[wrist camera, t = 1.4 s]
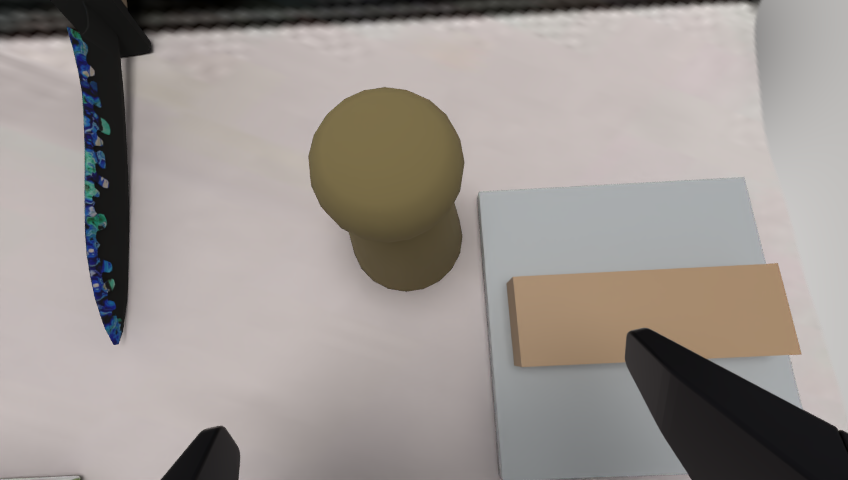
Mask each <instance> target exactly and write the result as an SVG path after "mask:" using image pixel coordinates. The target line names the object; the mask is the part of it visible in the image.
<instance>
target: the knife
mask: <svg viewBox="0 0 848 480" xmlns="http://www.w3.org/2000/svg"><path fill="white" fill-rule="evenodd" d="M51 1H52V3H53V4H54V5H55V6H56V7H57V8H58V9H59V10H60V11H61V12H62V13H63V15H64V16H65V17H66V18H67V19H68V20H69V21H70V22H71V23H72V24H73V25H74V27H75V28H76V29H77V30H78V31H79V32H80V33H78V32H76V31H75V30H73V29H71V28H69V27H67V30H68V33H69V37H70V40H71V44H72V47H73V51H74V55H75V60H76V64H77V68H78V73H79V78H80V84H81V89H82V100H83V115H84V141H85V238H86V251H87V259H88V265H89V271H90V277H91V282H92V287H93V291H94V296H95V300H96V303H97V306H98V309H99V312H100V316H101V319H102V322H103V324H104V327H105V330H106V331H107V333H108V335H109V337H110V339H111V341H112V343H113V345H116V344H119V341H120V338H121V335H122V333H123V327H124V319H125V312H126V304H127V290H128V254H129V196H128V164H127V144H126V125H125V105H124V92H123V81H122V70H121V59H120V57H124V56H130V55H136V54H142V53H148V52H149V51H150V47H151V42H150V40H149V39H148V38H147V36H146V35H145V34H144V32H143V31H142V29H141V28H140V27H139V25H138V24H137V23H136V21H135V20H134V19H133V17H132V16H131V15H130V13H129V12H128V8H127V0H51Z"/></svg>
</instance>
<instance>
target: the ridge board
mask: <svg viewBox="0 0 848 480" xmlns="http://www.w3.org/2000/svg"><path fill="white" fill-rule="evenodd" d="M477 200H478V212H479V225H480V237H481V249H482V262H483V274H484V286H485V299H486V311H487V323H488V335H489V348H490V360H491V372H492V385H493V397H494V409H495V422H496V434H497V446H498V459H499V471H500V477H501V479H502V480H552V479H577V478H603V477H628V476H654V475H679V474H688V473H687V472H686V470H685V469H684V467H683V466H682V464H681V463H680V461H679V460H678V458H677V456H676V455H675V453H674V452H673V450H672V449H671V447H670V446H669V444H668V443H667V441H666V440H665V438H664V436H663V435H662V433H661V431H660V430H659V428H658V426H657V424H656V422H655V420H654V418H653V417H652V415H651V413H650V411H649V409H648V407H647V405H646V403H645V401H644V399H643V397H642V395H641V393H640V391H639V389H638V387H637V385H636V384H635V382H634V380H633V378H632V376H631V374H630V372H629V370H628V368H627V366H626V362H625V346H626V336H627V333H628V332H629V331H631V330H635V329H640V328H649V329H651V330H653V331H655V332H657V333H659V334H661V335H663V336H665V337H666V338H668V339H670V340H672V341H674V342H676V343H678V344H680V345H682V346H684V347H685V348H687V349H689V350H691V351H693V352H695V353H697V354H699V355H701V356H702V357H704V358H706V359H708V360H710V361H712V362H714V363H716V364H718V365H719V366H721V367H723V368H725V369H727V370H729V371H731V372H733V373H735V374H737V375H738V376H740V377H742V378H744V379H746V380H748V381H750V382H752V383H754V384H755V385H757V386H759V387H761V388H763V389H765V390H767V391H769V392H771V393H772V394H774V395H776V396H778V397H780V398H782V399H784V400H786V401H788V402H790V403H791V404H793V405H795V406H797V407H799V408H801V409H802V405H801V401H800V397H799V393H798V389H797V385H796V381H795V377H794V373H793V369H792V365H791V361H790V357H789V355H800V354H801V351H800V347H799V343H798V339H797V335H796V331H795V327H794V324H793V320H792V316H791V312H790V308H789V304H788V300H787V297H786V293H785V289H784V285H783V281H782V277H781V273H780V270H779V266H778V263H775V264H766V262H765V258H764V254H763V250H762V246H761V242H760V238H759V234H758V230H757V226H756V222H755V218H754V214H753V210H752V206H751V202H750V198H749V194H748V190H747V186H746V182H745V178H744V177H738V178H720V179H702V180H684V181H665V182H647V183H629V184H611V185H593V186H574V187H556V188H538V189H520V190H502V191H483V192H479V194H478V198H477Z"/></svg>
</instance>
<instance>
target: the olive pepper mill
mask: <svg viewBox="0 0 848 480" xmlns="http://www.w3.org/2000/svg"><path fill="white" fill-rule="evenodd" d="M309 168H310V179H311V186H312V188H313V190H314V193H315V195H316V197H317V199H318V201H319V203H320V206H321V207H322V208H323V209H324V211H325V212H326V213H327V214H328V215H329V216H330V217H331V218H332V219H333V220H334V221H335V222H336V223H337V224H338V225H339V226H340V227H341V228H342V229H344V230H346V231H348V232H349V235H350V238H351V242H352V246H353V250H354V253H355V256H356V258H357V260H358V262H359V264H360V266H361V268H362V269H363V270H364V271H365V272H366V274H367V275H368V276H369V277H370V278H371V279H372V280H373V281H375V282H377V283H379V284H381V285H383V286H385V287H386V288H388V289H394V290H400V291H413V290H419V289H424V288H426V287H428V286H430V285H432V284H434V283H436V282H438V281H440V280H441V279H442V278H443V277H444V276H445V275H446V274H447V273H448V272H449V271H450V270H451V269H452V268H453V266H454V264H455V262H456V260H457V258H458V256H459V254H460V249H461V242H462V232H461V226H460V221H459V217H458V214H457V210H456V207H455V204H454V201H455V200H456V198H457V196H458V194H459V192H460V187H461V181H462V175H463V168H464V158H463V152H462V147H461V142H460V139H459V136H458V134H457V132H456V131H455V129H454V127H453V125H452V124H451V122H450V120H449V119H448V117H447V115H446V114H445V113H444V112H443V111H441V110H440V109H439V108H438V107H437V106H436V105H435V104H434V103H432V102H431V101H430V100H428V99H426V98H424V97H421V96H419V95H417V94H414V93H412V92H410V91H407V90H402V89H394V88H386V87H383V88H377V89H370V90H364V91H362V92H359V93H357V94H355V95H353V96H351V97H348V98H346V99H344V100H343V101H342V102H341V103H340V104H338V105H337V106H336V107H335V108H334V109H333V110H331V111H330V112H329V113H328V114H327V115H326V117H325V118H324V120H323V121H322V123H321V125H320V126H319V128H318V129H317V131H316V132H315V134H314V137H313V141H312V144H311V148H310V152H309Z"/></svg>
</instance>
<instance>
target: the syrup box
mask: <svg viewBox="0 0 848 480" xmlns="http://www.w3.org/2000/svg"><path fill="white" fill-rule="evenodd" d="M0 480H80V477H79V476H60V477H39V478H16V479H0Z"/></svg>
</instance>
